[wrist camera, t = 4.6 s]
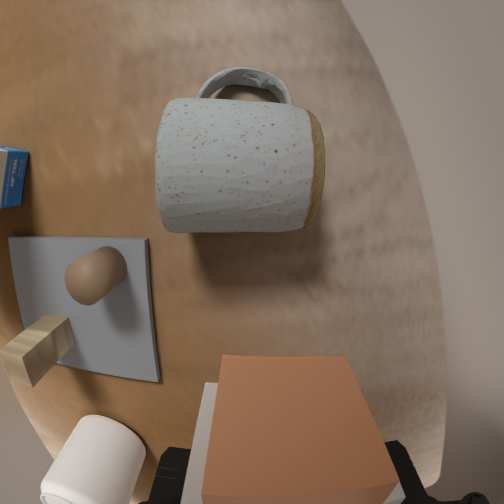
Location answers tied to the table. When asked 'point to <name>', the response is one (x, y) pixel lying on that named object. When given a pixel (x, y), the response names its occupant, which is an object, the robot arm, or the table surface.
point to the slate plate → (96, 323)
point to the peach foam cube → (294, 435)
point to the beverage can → (95, 465)
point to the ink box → (12, 175)
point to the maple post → (37, 349)
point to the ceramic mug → (238, 160)
